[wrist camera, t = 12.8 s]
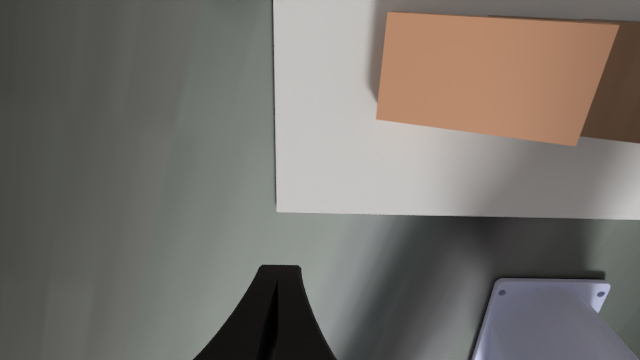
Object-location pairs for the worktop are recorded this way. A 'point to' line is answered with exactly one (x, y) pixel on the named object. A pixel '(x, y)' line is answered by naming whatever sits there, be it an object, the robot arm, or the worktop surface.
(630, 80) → the walnut domino
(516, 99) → the tan wooden flat block
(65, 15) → the worktop surface
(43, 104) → the worktop surface
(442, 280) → the worktop surface
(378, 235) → the worktop surface
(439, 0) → the grey mat
